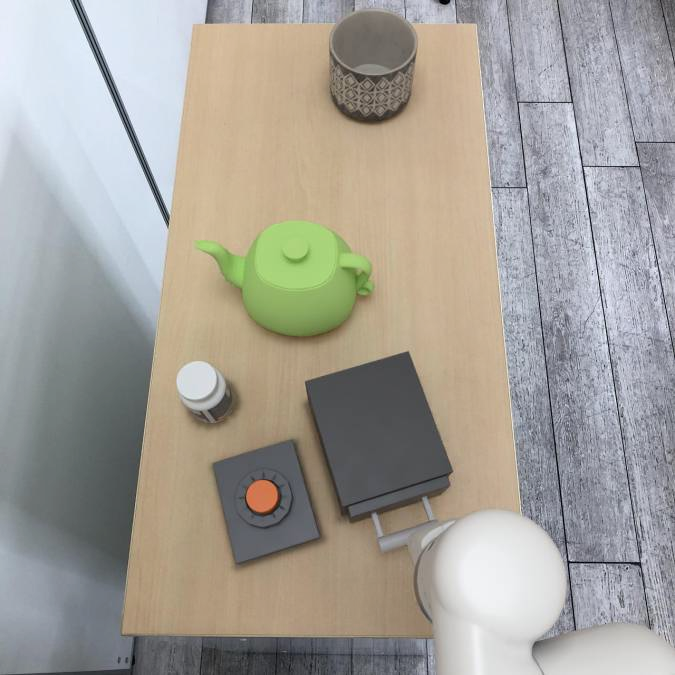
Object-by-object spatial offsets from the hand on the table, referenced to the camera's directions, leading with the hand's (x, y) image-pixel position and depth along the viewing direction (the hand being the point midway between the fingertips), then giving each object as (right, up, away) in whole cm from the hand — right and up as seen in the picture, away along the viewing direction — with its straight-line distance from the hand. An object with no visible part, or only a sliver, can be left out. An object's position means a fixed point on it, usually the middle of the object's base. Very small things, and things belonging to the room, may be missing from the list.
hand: (433, 590), depth 62 cm
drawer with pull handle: (-4, +9, +14) cm, 17 cm away
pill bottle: (-26, +17, +19) cm, 36 cm away
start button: (-18, +6, +11) cm, 22 cm away
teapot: (-16, +31, +24) cm, 42 cm away
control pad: (-18, +5, +14) cm, 23 cm away
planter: (-4, +63, +37) cm, 74 cm away
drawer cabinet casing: (-5, +12, +17) cm, 21 cm away
